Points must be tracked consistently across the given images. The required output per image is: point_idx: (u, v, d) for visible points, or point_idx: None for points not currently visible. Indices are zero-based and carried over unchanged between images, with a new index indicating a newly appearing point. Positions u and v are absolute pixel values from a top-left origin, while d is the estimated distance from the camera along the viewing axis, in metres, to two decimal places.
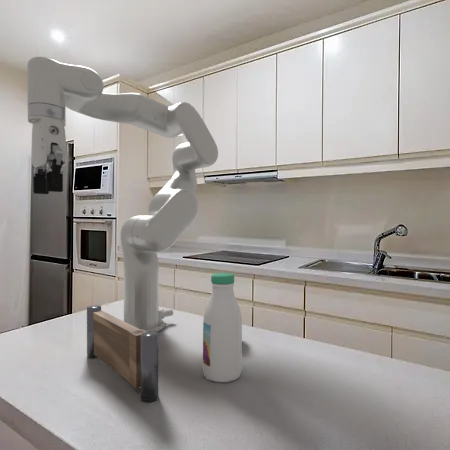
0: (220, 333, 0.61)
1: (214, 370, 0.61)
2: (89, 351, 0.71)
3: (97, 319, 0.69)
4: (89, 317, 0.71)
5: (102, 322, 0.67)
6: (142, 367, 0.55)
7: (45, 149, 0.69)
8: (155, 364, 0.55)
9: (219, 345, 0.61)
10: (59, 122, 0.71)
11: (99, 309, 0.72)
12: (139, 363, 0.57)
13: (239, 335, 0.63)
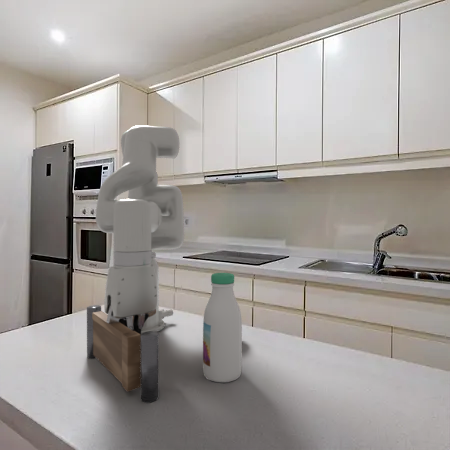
0: (220, 333, 0.61)
1: (214, 370, 0.61)
2: (89, 351, 0.71)
3: (95, 319, 0.69)
4: (89, 317, 0.71)
5: (99, 322, 0.67)
6: (142, 367, 0.55)
7: (157, 296, 0.69)
8: (155, 364, 0.55)
9: (219, 345, 0.61)
10: None
11: (99, 309, 0.72)
12: (131, 366, 0.56)
13: (239, 335, 0.63)
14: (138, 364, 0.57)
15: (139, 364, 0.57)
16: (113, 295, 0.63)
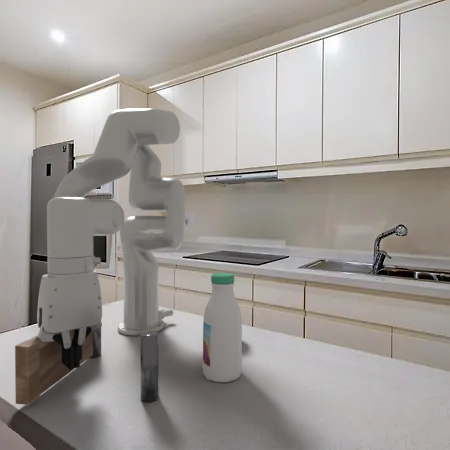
0: (220, 333, 0.61)
1: (214, 370, 0.61)
2: None
3: None
4: None
5: None
6: (142, 367, 0.55)
7: (101, 308, 0.61)
8: (155, 364, 0.55)
9: (219, 345, 0.61)
10: None
11: None
12: (19, 377, 0.52)
13: (239, 335, 0.63)
14: (26, 379, 0.52)
15: (27, 379, 0.52)
16: (44, 308, 0.54)
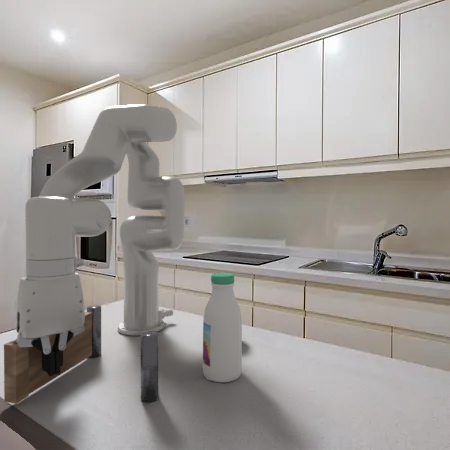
0: (220, 333, 0.61)
1: (214, 370, 0.61)
2: None
3: None
4: None
5: None
6: (142, 367, 0.55)
7: (84, 311, 0.59)
8: (155, 364, 0.55)
9: (219, 345, 0.61)
10: None
11: (99, 309, 0.72)
12: (7, 376, 0.53)
13: (239, 335, 0.63)
14: (14, 377, 0.52)
15: (15, 378, 0.52)
16: (21, 312, 0.52)
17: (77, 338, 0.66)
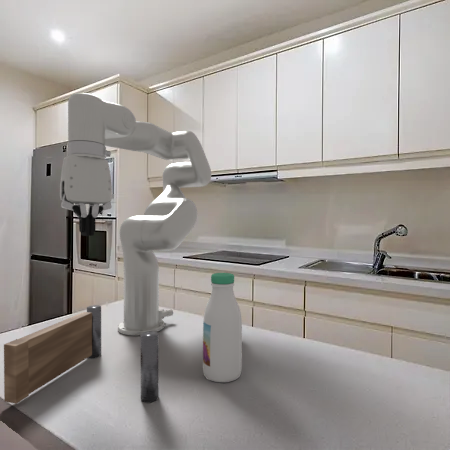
0: (220, 333, 0.61)
1: (214, 370, 0.61)
2: None
3: None
4: None
5: None
6: (142, 367, 0.55)
7: (111, 191, 0.74)
8: (155, 364, 0.55)
9: (219, 345, 0.61)
10: None
11: (99, 309, 0.72)
12: (7, 376, 0.53)
13: (239, 335, 0.63)
14: (14, 377, 0.52)
15: (15, 378, 0.52)
16: (66, 179, 0.68)
17: (77, 338, 0.66)
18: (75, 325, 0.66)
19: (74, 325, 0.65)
